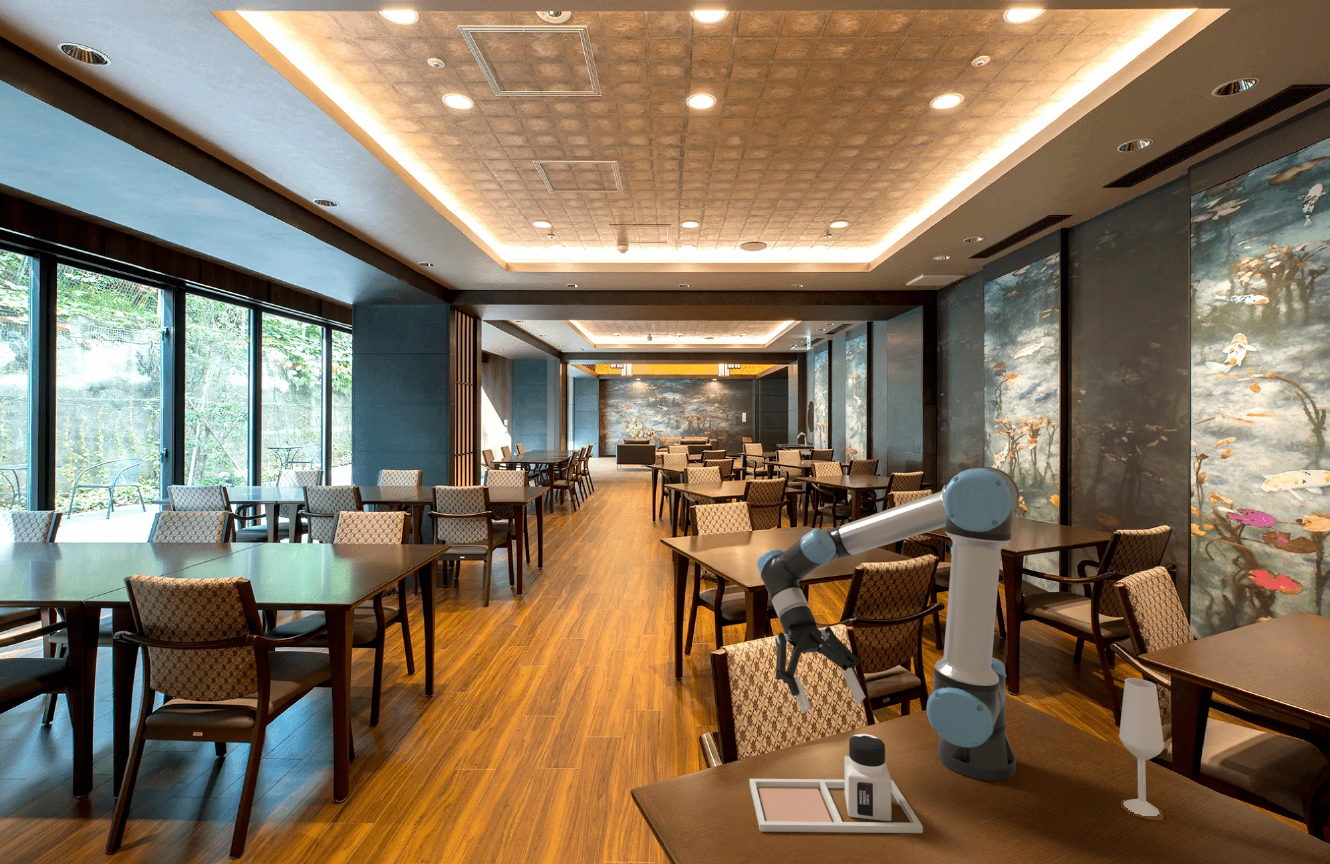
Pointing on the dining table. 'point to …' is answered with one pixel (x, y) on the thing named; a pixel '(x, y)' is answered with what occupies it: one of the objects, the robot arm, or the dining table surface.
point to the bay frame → (816, 808)
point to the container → (867, 779)
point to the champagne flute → (1141, 735)
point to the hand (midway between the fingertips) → (834, 705)
